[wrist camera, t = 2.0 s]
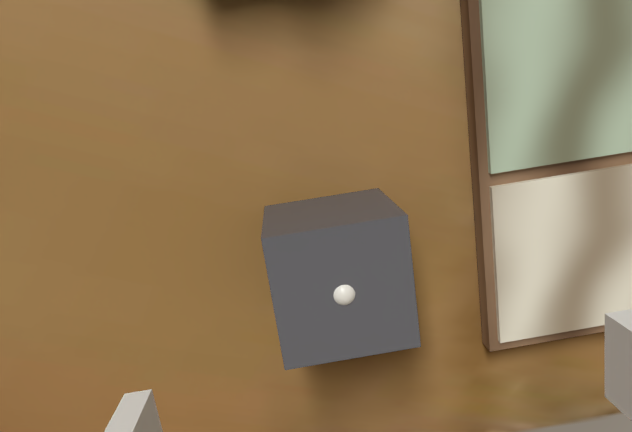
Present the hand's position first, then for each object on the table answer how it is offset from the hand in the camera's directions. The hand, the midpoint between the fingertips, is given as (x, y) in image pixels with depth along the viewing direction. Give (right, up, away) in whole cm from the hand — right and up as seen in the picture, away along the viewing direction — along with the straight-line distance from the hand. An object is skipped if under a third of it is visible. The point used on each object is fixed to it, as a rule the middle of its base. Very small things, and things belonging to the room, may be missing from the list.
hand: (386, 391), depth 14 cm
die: (-1, +3, +12) cm, 13 cm away
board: (+11, +12, +11) cm, 20 cm away
